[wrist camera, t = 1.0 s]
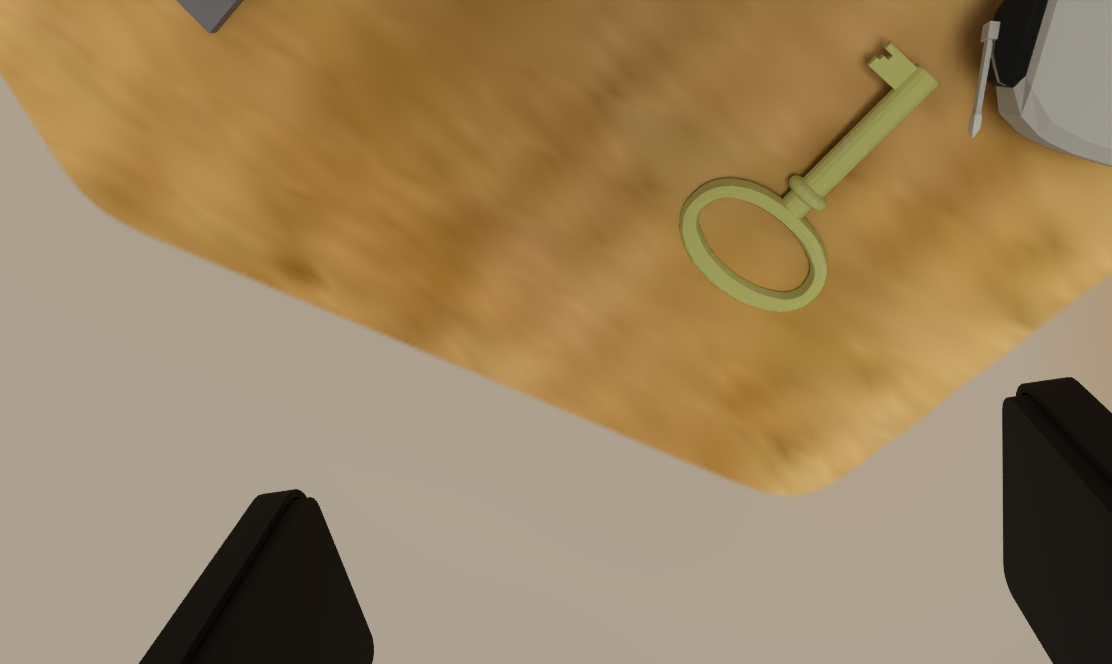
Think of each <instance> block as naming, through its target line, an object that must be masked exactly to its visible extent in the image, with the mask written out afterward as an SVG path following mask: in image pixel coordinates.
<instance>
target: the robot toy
mask: <svg viewBox="0 0 1112 664" xmlns="http://www.w3.org/2000/svg"><path fill="white" fill-rule="evenodd" d="M980 42H984V47H983V53H982V59H981V65H980V71H979V77H978V83H977V89H976V95H975V101H974V107H973V113H972V115H971V116H970V120H969V126H968V130H969V133H970V135H971V137H972V139H973V138H974V136H975V135H976V134H977V132H978V131H979V129H980V127H981V121H982V115H981V111H982V105H983V99H984V93H985V87H986V81H987V82H989V83H991V84H993V85H995V86H996V92H997V102H998V111H999V113H1000V114H1001V116H1002V117H1003V118H1004V119H1005V120H1006V121H1007V122H1008V123H1009V124H1010V125H1011V126H1012V128H1013V129H1014V130H1015V131H1016V132H1018V133H1020V134H1021V135H1023V136H1024V137H1026V138H1027V139H1030V140H1032V141H1034V142H1036V143H1038V144H1041V145H1043V146H1045V147H1047V148H1049V149H1052V150H1055V151H1059V152H1062V153H1065V154H1069V155H1072V156H1075V157H1079V158H1082V159H1086V160H1089V161H1092V162H1096V163H1099V164H1103V165H1107V166H1111V167H1112V0H1004V1H1003V2H1002V4H1001V5H1000V7H999V8H998V10H997V11H996V13H995V17H994V20H993V21H989V22H987V23H986V24H984V25H983V29H982V35H981V41H980Z"/></svg>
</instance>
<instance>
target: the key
mask: <svg viewBox="0 0 1112 664" xmlns="http://www.w3.org/2000/svg"><path fill="white" fill-rule="evenodd" d="M884 48H885V49H886V50H887V51H888V52H889V53H890V55H889V56H888V57H887V58H886V57H885V56H884V55H882V54H881V55H880V56H879V57H878V58H877V57H876V56H874V57H873V58H872V59H871V60H870V61H869V62H868V63H867V65H868V66H869V67H871V68H872V69H873V70H874V71H875V72H876V73H877V74H878V75H879V76H880V77H881V78H882V79H884V80H885V81H886V82H887V83H888V84H889V85H890V86H891V87H892V88H893V89H892V90H891V91H890V92H889V93H888V94H887V95H886V96H885V97H884V98H883V99H882V100H880V101H879V102H878V103H877V104H876V105H875V106H874V107H873V108H872V109H871V110H870V111H869V112H868V113H867V114H866V115H865V116H864V117H863V118H862V119H861V120H860V121H859V122H858V123H857V124H856V125H855V126H854V127H853V128H852V129H851V130H850V131H849V132H848V133H847V134H846V135H845V136H844V137H843V138H842V139H841V140H840V141H839V142H838V143H837V144H836V145H835V146H834V147H833V148H832V149H831V150H830V151H829V152H828V153H827V154H826V155H825V156H824V157H823V158H822V159H821V160H820V161H819V162H818V163H817V164H816V165H815V166H814V167H813V168H812V169H811V170H810V171H809V172H808V173H807V174H806V175H805V176H804V177H801V176H799V175H793V176H792V177H791V178H790V179H789V185H790V187H791V190H790V191H789V192H788V193H787V194H786V195H785V196H784V197H783V198H781V197H779V196H778V195H776V194H775V193H773V192H771V191H770V190H768V189H767V188H765V187H763V186H761V185H758V184H756V183H753V182H751V181H746V180H741V179H735V178H723V179H717V180H714V181H710V182H708V183H706V184H705V185H703V186H701V187H700V188H699V189H697V190H696V191H695V192H694V193H693V194H692V195H691V196H690V198H689V199H688V200H687V201H686V203H685V204H684V206H683V209H682V212H681V216H680V225H679V227H680V233H681V238H682V241H683V244H684V247H685V249H686V251H687V253H688V255H689V257H690V259H691V261H692V262H693V263H694V265H695V266H696V268H697V269H698V270H699V271H700V272H701V273H702V274H703V275H704V276H705V277H706V278H707V279H708V280H709V281H710V282H711V283H712V284H714V285H715V286H716V287H718V288H719V289H720V290H722V291H723V292H725V293H726V294H728V295H729V296H731V297H733V298H734V299H736V300H738V301H741V302H743V303H745V304H747V305H750V306H753V307H757V308H760V309H765V310H770V311H779V312H784V311H791V310H796V309H799V308H801V307H804V306H805V305H807V304H808V303H810V302H811V301H812V300H813V299H814V298H815V297H816V296H817V295H818V294H819V293H820V291H821V289H822V288H823V286H824V284H825V280H826V276H827V262H828V260H827V257H826V253H825V250H824V246H823V243H822V241H821V239H820V238H819V236H818V234H817V233H816V231H815V230H814V228H813V227H812V226H811V225H810V224H809V223H808V221H807V220H806V219H805V218H804V216H805V215H806V214H807V213H808V212H809V211H810V210H811V209H814V210H816V211H822V210H824V209H825V207H826V200H825V198H824V196H825V195H826V194H827V193H828V192H829V191H830V190H831V189H832V188H833V187H834V186H835V185H837V184H838V183H839V182H840V181H841V180H842V179H843V178H844V177H845V176H846V175H847V174H848V173H849V172H850V171H851V170H852V169H853V168H854V167H855V166H856V165H857V164H858V163H859V162H860V161H861V160H862V159H863V158H864V157H865V156H866V155H867V154H869V153H870V152H871V151H872V150H873V149H874V148H875V147H876V146H877V145H878V144H879V143H880V142H881V141H882V140H883V139H884V138H885V137H886V136H887V135H888V134H889V133H890V132H891V131H892V130H893V129H894V128H895V127H896V126H897V125H898V124H899V123H900V122H902V121H903V120H904V119H905V118H906V117H907V116H908V115H909V114H910V113H911V112H912V111H913V110H914V109H915V108H916V107H917V106H918V105H919V104H920V103H921V102H922V101H923V100H924V99H925V98H926V97H927V96H928V95H929V94H930V93H931V92H932V91H934V90H935V89H936V88H937V87H938V86H939V85H940V84H939V83H938V82H937V81H936V80H935V79H934V78H933V77H932V76H931V75H930V74H929V73H927V72H926V71H925V70H924V69H923V68H922V67H921V66H919V65H918V64H917V65H916V66H915V65H914V64H913V63H912V62H911V61H910V60H909V59H908V58H906V57H905V56H904V55H903V54H902V53H901V52H900V51H899V50H898V49H897V48H896V47H895V46H894V45H893V44H892V43H890V42H889V41H888V43H887V44H886V45H885V46H884ZM726 197H731V198H736V199H740V200H744V201H748V202H750V203H753V204H755V205H757V206H760V207H761V208H763V209H764V210H766V211H768V212H769V213H771V214H772V215H774V216H775V217H776V218H778V219H779V220H780V221H782V222H783V223H784V224H785V225H786V226H787V227H788V228H789V229H790V230H791V231H792V232H793V233H794V234H795V236H796V237H797V238H798V239H799V240H800V242H801V244H802V245H803V247H804V249H805V250H806V253H807V256H808V258H809V261H810V273H809V275H808V277H807V279H806V280H805V282H804V283H803V284H802V285H801V286H800V287H798V288H797V289H795V290H792V291H787V292H778V291H773V290H769V289H765V288H762V287H759V286H755V285H754V284H752V283H750V282H748V281H746V280H744V279H742V278H741V277H739V276H737V275H736V274H735V273H733V272H732V271H731V270H730V269H728V268H727V267H726V266H725V265H724V264H723V263H722V262H721V261H720V260H719V259H718V258H717V257H716V255H715V254H714V253H713V252H712V250H711V249H710V248H709V246H708V244H707V242H706V240H705V238H704V236H703V234H702V232H701V229H700V226H699V213H700V210H701V209H702V208H703V207H704V206H705V205H707V204H708V203H710V202H711V201H713V200H716V199H719V198H726Z"/></svg>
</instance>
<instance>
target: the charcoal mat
mask: <svg viewBox="0 0 1112 664" xmlns="http://www.w3.org/2000/svg"><path fill="white" fill-rule="evenodd" d="M177 1H178V2H179V3H180V4H181V5H182V6H183V7H184V8H185V9H186V10H187V11H188V12H189V13H190V14H191V15H192V16H193V17H194V18H195V19H196V20H197V21H198V22H199V23H200V24H201V25H202V26H203V27H204V28H205V29H206V30H207V31H208V32H209V33H214V32H217V30H218V29H219V28H220V27H221V26H222V24H223V23H224V22H225V21H226V19H227V18H228V17H229V16H230V15H231V13H232V12H233V11H234V10H235V9H236V7H237V6H238V5H239V4H240V3H241V1H242V0H177Z"/></svg>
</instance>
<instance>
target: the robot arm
mask: <svg viewBox="0 0 1112 664" xmlns="http://www.w3.org/2000/svg"><path fill="white" fill-rule="evenodd" d="M1002 421H1003V422H1002V431H1003V437H1002V438H1003V564H1004V573H1005V578H1006V581H1007V585H1008V587H1009V590H1010V592H1011V594H1012V596H1013V598H1014V599H1015V601H1016V603H1017V604H1018V606H1019V608H1020V610H1021V611H1022V613H1023V615H1024V616H1025V618H1026V620H1027V621H1028V623H1029V625H1030V626H1031V628H1032V629H1033V631H1034V633H1035V634H1036V636H1037V638H1038V640H1039V641H1040V643H1041V644H1042V646H1043V648H1044V649H1045V651H1046V653H1047V654H1048V656H1049V658H1050V659H1051V661H1052V662H1053V664H1112V413H1111V412H1110V411H1109V410H1108V409H1107V408H1106V407H1105V406H1104V405H1102V404H1101V403H1100V402H1099V401H1098V400H1097V399H1096V398H1095V397H1094V396H1093V395H1092V394H1091V393H1089V392H1088V390H1086V389H1085V388H1084V387H1083V386H1082V385H1081V384H1080V383H1079V382H1078V381H1077V380H1075V379H1074V378H1072V377H1066V378H1059V379H1053V380H1045V381H1038V382H1031V383H1024V384H1021V385H1020V386H1019V387H1018V389H1017V392H1016V396H1015V397H1008V398H1006V399H1005V400H1004V402H1003V408H1002ZM373 656H374V644H373V638H372V635H371V632H370V630H369V627H368V625H367V622H366V620H365V618H364V615H363V613H362V610H361V608H360V605H359V603H358V600H357V598H356V595H355V593H354V590H353V588H352V585H351V583H350V580H349V578H348V576H347V573H346V571H345V568H344V566H343V563H342V561H341V558H340V556H339V553H338V551H337V548H336V546H335V544H334V541H333V539H332V536H331V534H330V532H329V529H328V526H327V524H326V521H325V519H324V516H323V514H322V511H321V509H320V507H319V505H318V503H317V501H316V500H315V499H314V498H311V497H309V498H307V497H306V496H305V494H304V493H303V492H302V491H300V490H297V489H294V490H287V491H281V492H274V493H267V494H261V495H258V496H257V497H256V498H255V499H254V500H253V502H252V503H251V504H250V506H249V507H248V509H247V510H246V512H245V513H244V514H243V516H242V517H241V519H240V520H239V522H238V523H237V525H236V526H235V528H234V529H233V530H232V532H231V533H230V534H229V536H228V537H227V539H226V540H225V542H224V543H223V544H222V546H221V547H220V549H219V550H218V551H217V553H216V554H215V556H214V557H213V559H212V560H211V562H210V563H209V564H208V566H207V567H206V569H205V570H204V572H203V573H202V574H201V576H200V577H199V579H198V580H197V581H196V583H195V584H194V586H193V587H192V589H191V590H190V591H189V593H188V594H187V596H186V597H185V599H184V600H183V602H182V603H181V604H180V606H179V607H178V609H177V610H176V612H175V613H174V614H173V616H172V617H171V619H170V620H169V621H168V623H167V624H166V626H165V627H164V629H163V630H162V631H161V633H160V634H159V636H158V637H157V638H156V640H155V641H154V643H153V644H152V646H151V647H150V649H149V650H148V651H147V653H146V654H145V656H144V657H143V658H142V660H141V661H140V663H139V664H372V661H373Z"/></svg>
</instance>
